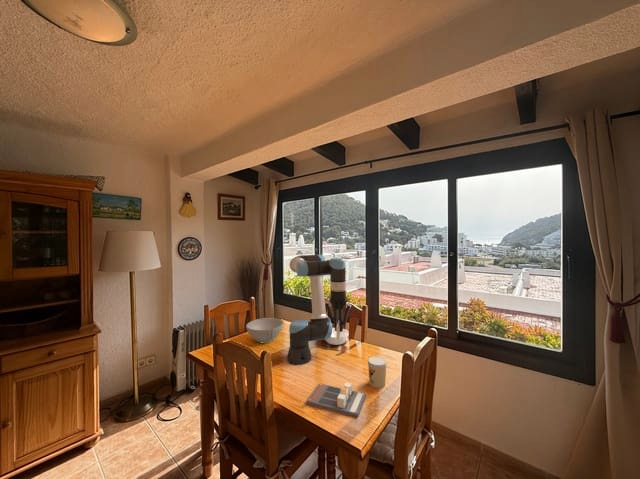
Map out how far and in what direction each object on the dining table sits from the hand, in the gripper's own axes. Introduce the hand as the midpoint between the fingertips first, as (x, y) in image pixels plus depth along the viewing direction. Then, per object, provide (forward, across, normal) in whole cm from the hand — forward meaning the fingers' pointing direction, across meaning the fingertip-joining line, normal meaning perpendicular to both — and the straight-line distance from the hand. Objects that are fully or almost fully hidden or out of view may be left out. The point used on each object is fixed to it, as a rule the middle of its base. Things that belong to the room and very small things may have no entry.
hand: (338, 337), depth 128 cm
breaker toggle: (+25, +5, -8) cm, 26 cm away
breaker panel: (+26, +1, -8) cm, 27 cm away
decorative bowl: (+27, -71, +39) cm, 85 cm away
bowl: (+27, -21, +53) cm, 63 cm away
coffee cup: (+26, +16, +12) cm, 33 cm away
